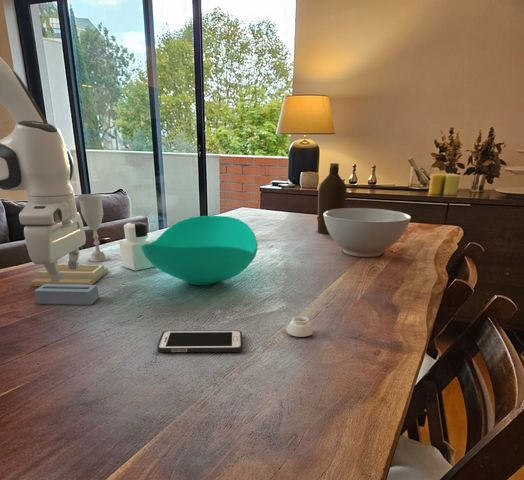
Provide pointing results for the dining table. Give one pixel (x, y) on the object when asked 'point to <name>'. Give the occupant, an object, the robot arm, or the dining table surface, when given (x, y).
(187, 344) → the cell phone
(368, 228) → the decorative bowl
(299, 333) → the lidless jar
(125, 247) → the medicine bottle
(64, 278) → the base pad
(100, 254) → the chalice
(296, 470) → the dining table surface
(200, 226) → the table top decor
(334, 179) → the olive oil
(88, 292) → the blue pad
